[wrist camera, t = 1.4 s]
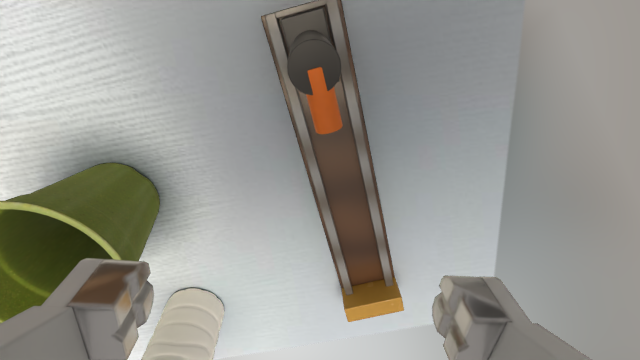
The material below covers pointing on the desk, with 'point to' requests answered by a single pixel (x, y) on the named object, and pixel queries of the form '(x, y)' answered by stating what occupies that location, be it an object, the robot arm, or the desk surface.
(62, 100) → the desk surface
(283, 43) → the rail
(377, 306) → the block
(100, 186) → the plant pot
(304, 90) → the nozzle
